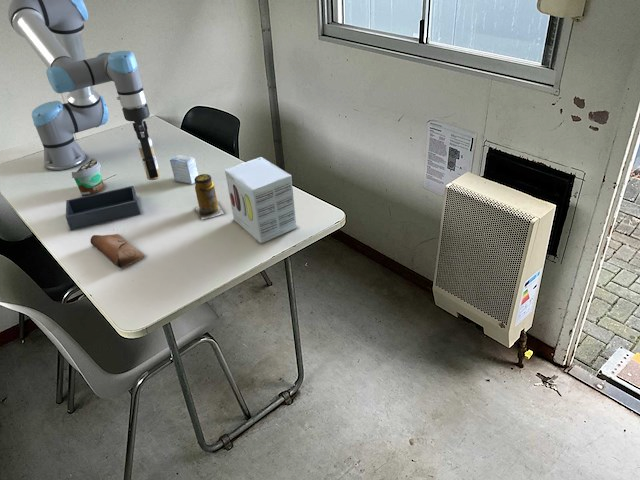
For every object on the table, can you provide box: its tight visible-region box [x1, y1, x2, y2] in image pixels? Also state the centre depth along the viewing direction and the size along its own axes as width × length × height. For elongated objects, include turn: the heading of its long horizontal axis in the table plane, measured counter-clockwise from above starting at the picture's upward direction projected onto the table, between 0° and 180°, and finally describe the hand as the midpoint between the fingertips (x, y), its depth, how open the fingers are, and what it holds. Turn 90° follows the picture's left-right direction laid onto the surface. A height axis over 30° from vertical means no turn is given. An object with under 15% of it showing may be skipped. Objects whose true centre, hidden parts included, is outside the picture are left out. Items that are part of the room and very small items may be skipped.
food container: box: [71, 157, 105, 197], centre depth 180 cm, size 12×6×10 cm, turn 168°
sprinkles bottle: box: [136, 137, 162, 181], centre depth 165 cm, size 5×5×13 cm
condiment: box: [194, 173, 225, 220], centre depth 163 cm, size 7×8×12 cm
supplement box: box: [224, 156, 298, 244], centre depth 152 cm, size 17×13×18 cm
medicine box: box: [169, 154, 199, 185], centre depth 183 cm, size 8×4×9 cm, turn 65°
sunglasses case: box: [90, 233, 145, 269], centre depth 149 cm, size 18×7×7 cm
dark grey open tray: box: [65, 185, 141, 231], centre depth 168 cm, size 12×22×5 cm, turn 112°
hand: (153, 173), depth 168 cm, fingers closed on sprinkles bottle, 4 cm apart
